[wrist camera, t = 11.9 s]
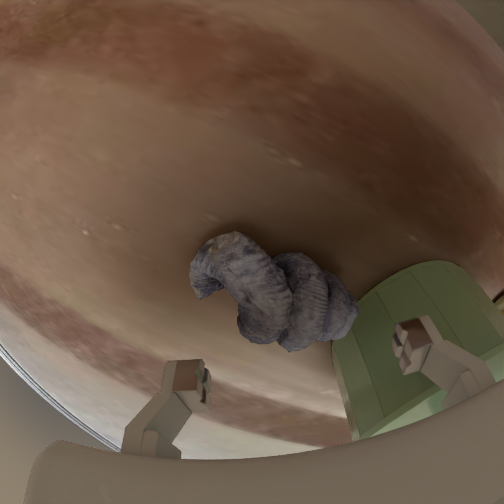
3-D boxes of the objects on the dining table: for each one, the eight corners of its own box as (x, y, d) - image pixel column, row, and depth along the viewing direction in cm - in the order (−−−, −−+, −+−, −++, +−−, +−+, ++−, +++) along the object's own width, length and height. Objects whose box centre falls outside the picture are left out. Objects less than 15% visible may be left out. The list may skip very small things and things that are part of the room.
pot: (485, 244, 17) (551, 313, 9) (446, 353, 24) (478, 414, 16) (330, 283, 17) (376, 400, 10) (329, 390, 24) (347, 468, 17)
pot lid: (552, 299, 10) (583, 341, 6) (478, 410, 17) (491, 441, 14) (363, 387, 10) (388, 471, 7) (340, 465, 18) (348, 505, 14)
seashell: (192, 242, 17) (335, 283, 19) (171, 331, 15) (327, 360, 17) (211, 199, 12) (388, 261, 15) (179, 324, 10) (384, 359, 12)
